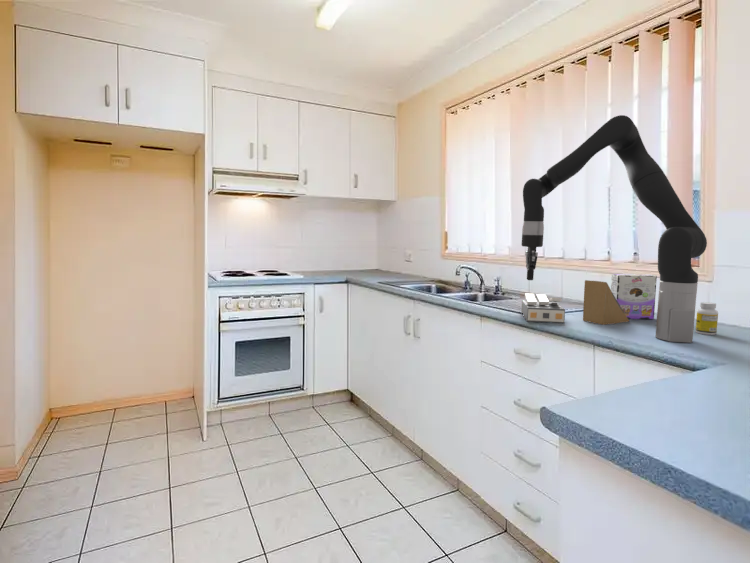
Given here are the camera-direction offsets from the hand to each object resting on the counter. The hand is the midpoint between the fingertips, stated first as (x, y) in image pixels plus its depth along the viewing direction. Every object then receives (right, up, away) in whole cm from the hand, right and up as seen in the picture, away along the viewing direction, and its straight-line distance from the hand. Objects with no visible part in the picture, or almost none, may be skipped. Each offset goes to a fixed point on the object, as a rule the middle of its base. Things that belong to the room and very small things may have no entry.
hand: (529, 279), depth 167 cm
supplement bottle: (+47, -17, -26) cm, 56 cm away
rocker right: (+7, -8, -4) cm, 12 cm away
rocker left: (-1, -8, -3) cm, 8 cm away
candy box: (+38, -15, 0) cm, 41 cm away
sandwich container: (+25, -15, -7) cm, 30 cm away
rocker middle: (+3, -8, -4) cm, 9 cm away
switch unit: (+3, -14, -3) cm, 15 cm away
